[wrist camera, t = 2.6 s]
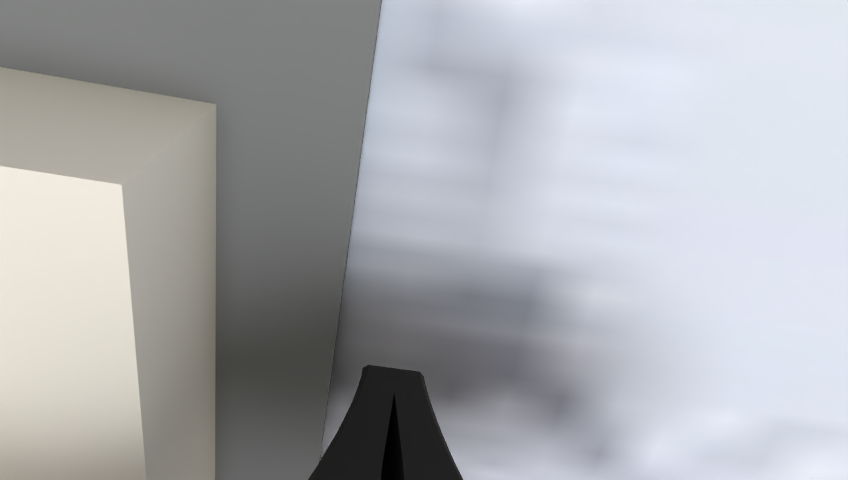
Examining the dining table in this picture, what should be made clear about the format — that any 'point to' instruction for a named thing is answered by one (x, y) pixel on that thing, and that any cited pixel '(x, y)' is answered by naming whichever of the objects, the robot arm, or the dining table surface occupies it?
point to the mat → (246, 180)
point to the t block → (106, 282)
